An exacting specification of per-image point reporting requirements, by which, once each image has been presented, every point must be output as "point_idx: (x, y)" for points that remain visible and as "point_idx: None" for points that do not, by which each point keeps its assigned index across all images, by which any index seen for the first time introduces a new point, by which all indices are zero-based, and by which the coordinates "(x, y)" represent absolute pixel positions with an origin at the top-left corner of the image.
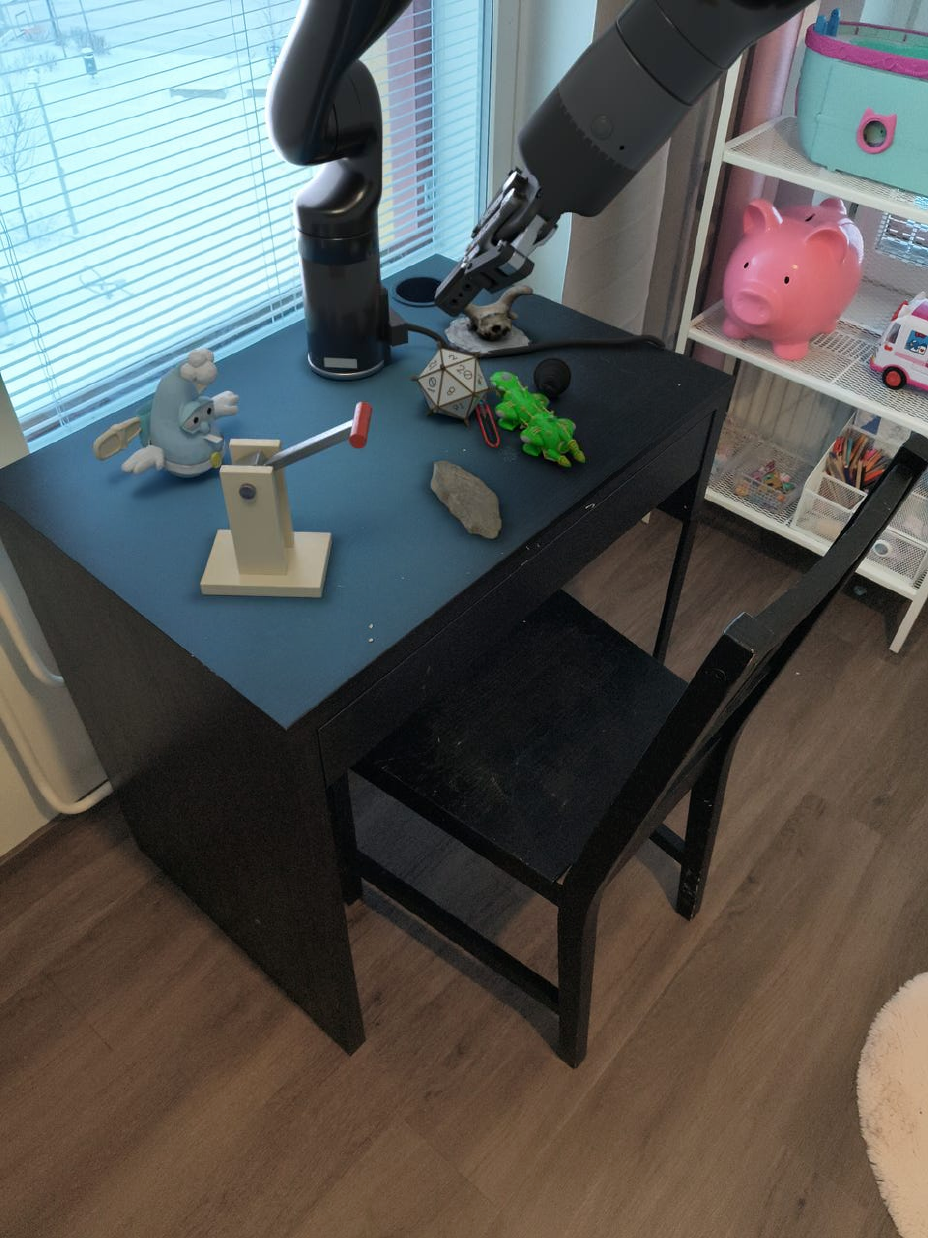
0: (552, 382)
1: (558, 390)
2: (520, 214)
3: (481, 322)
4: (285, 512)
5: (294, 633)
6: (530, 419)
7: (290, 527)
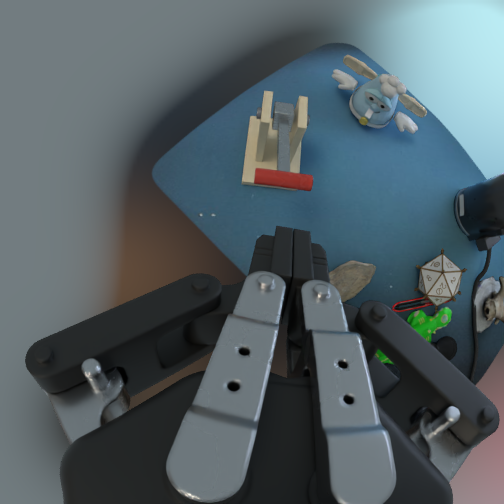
0: None
1: None
2: (96, 459)
3: (492, 301)
4: None
5: (211, 170)
6: None
7: None
